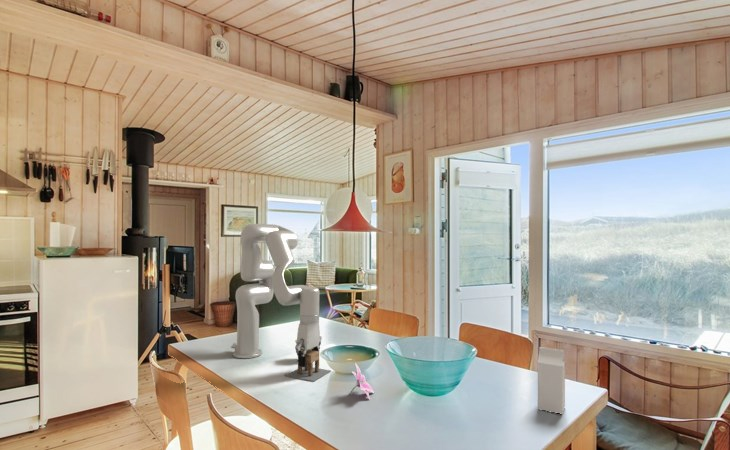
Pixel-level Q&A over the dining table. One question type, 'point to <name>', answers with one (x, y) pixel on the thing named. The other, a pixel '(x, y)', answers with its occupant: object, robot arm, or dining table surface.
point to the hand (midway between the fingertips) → (308, 362)
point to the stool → (310, 362)
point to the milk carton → (551, 380)
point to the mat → (305, 374)
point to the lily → (362, 382)
